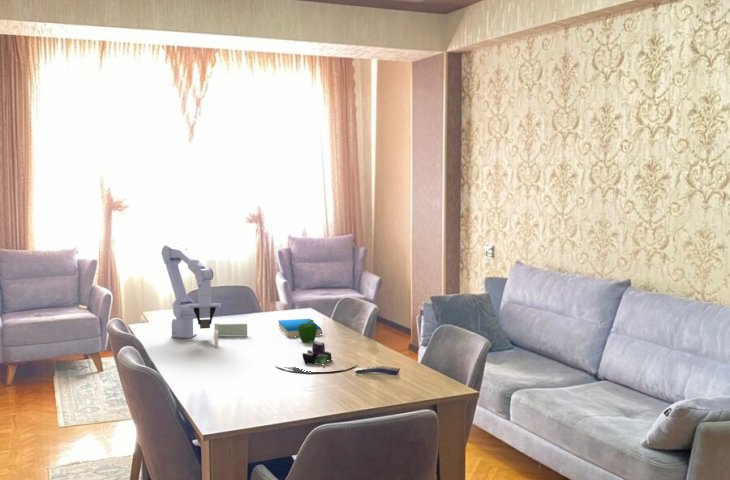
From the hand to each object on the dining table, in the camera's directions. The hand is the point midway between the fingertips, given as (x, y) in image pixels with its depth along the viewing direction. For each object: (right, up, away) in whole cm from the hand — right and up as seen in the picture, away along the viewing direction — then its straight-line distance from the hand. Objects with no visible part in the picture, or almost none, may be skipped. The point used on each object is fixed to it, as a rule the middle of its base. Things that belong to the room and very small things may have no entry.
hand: (204, 324), depth 341 cm
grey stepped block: (-1, -2, +3) cm, 4 cm away
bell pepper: (+47, -8, +2) cm, 48 cm away
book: (+41, -7, +24) cm, 48 cm away
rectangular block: (+4, -8, +4) cm, 10 cm away
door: (+11, -7, +12) cm, 17 cm away
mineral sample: (+54, -13, -37) cm, 66 cm away
